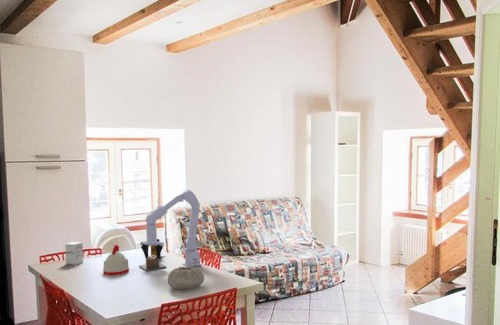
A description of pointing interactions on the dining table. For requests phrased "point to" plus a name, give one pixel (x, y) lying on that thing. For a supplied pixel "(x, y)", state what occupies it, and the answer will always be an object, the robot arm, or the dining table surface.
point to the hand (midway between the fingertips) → (152, 257)
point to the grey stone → (185, 278)
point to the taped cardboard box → (152, 261)
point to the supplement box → (74, 253)
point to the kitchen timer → (115, 263)
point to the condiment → (153, 250)
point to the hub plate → (152, 267)
